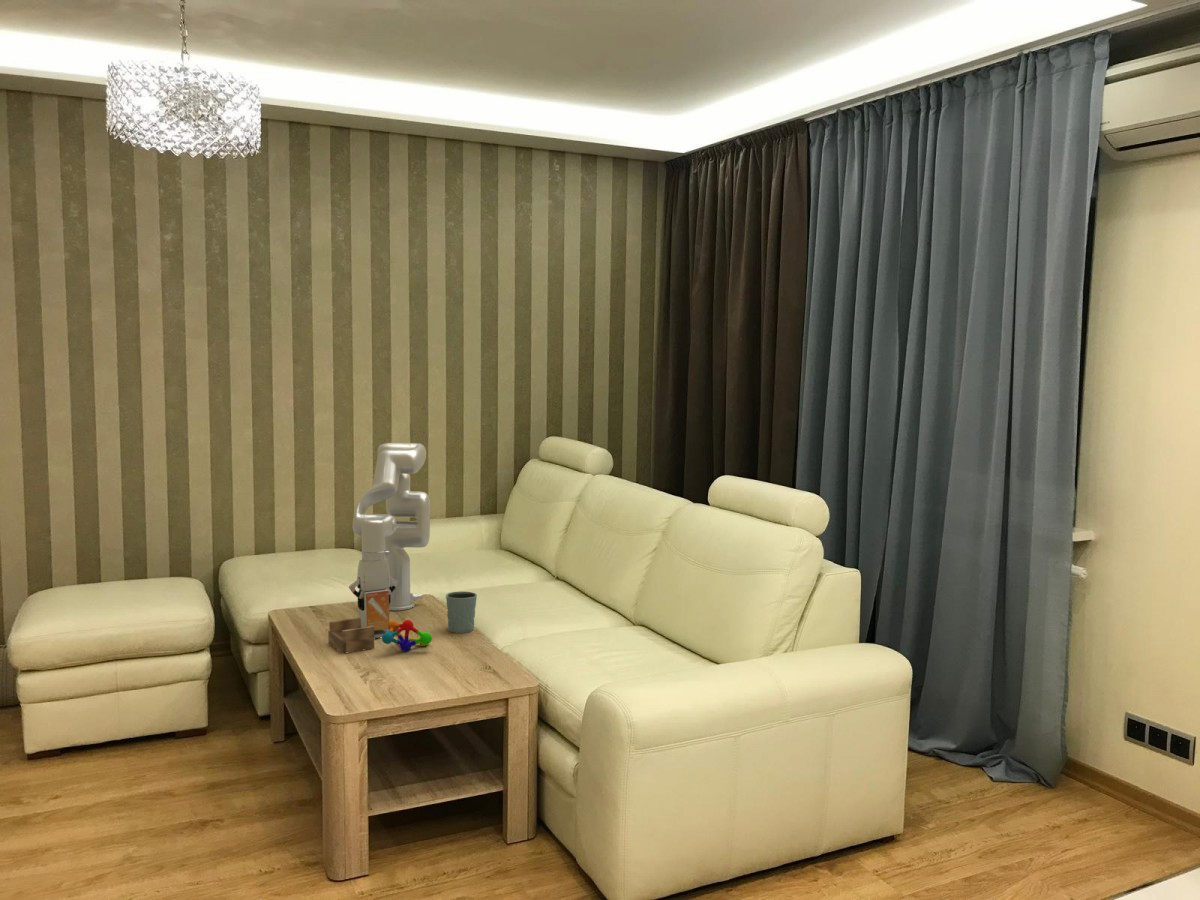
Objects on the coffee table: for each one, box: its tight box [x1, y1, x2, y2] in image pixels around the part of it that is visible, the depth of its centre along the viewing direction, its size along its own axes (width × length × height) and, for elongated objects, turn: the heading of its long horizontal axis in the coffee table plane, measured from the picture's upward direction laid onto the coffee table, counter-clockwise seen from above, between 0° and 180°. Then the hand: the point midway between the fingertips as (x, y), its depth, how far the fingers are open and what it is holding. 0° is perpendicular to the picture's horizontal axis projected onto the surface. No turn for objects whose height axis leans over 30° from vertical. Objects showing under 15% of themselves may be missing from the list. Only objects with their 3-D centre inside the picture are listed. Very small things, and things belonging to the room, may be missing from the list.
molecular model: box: [381, 619, 433, 652], centre depth 323 cm, size 15×10×15 cm
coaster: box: [374, 629, 393, 639], centre depth 340 cm, size 12×12×1 cm
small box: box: [359, 589, 390, 631], centre depth 339 cm, size 8×6×13 cm
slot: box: [327, 617, 375, 654], centre depth 326 cm, size 10×13×7 cm
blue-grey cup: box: [445, 591, 478, 634], centre depth 346 cm, size 10×10×12 cm
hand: (374, 607), depth 339 cm, fingers closed on small box, 8 cm apart
